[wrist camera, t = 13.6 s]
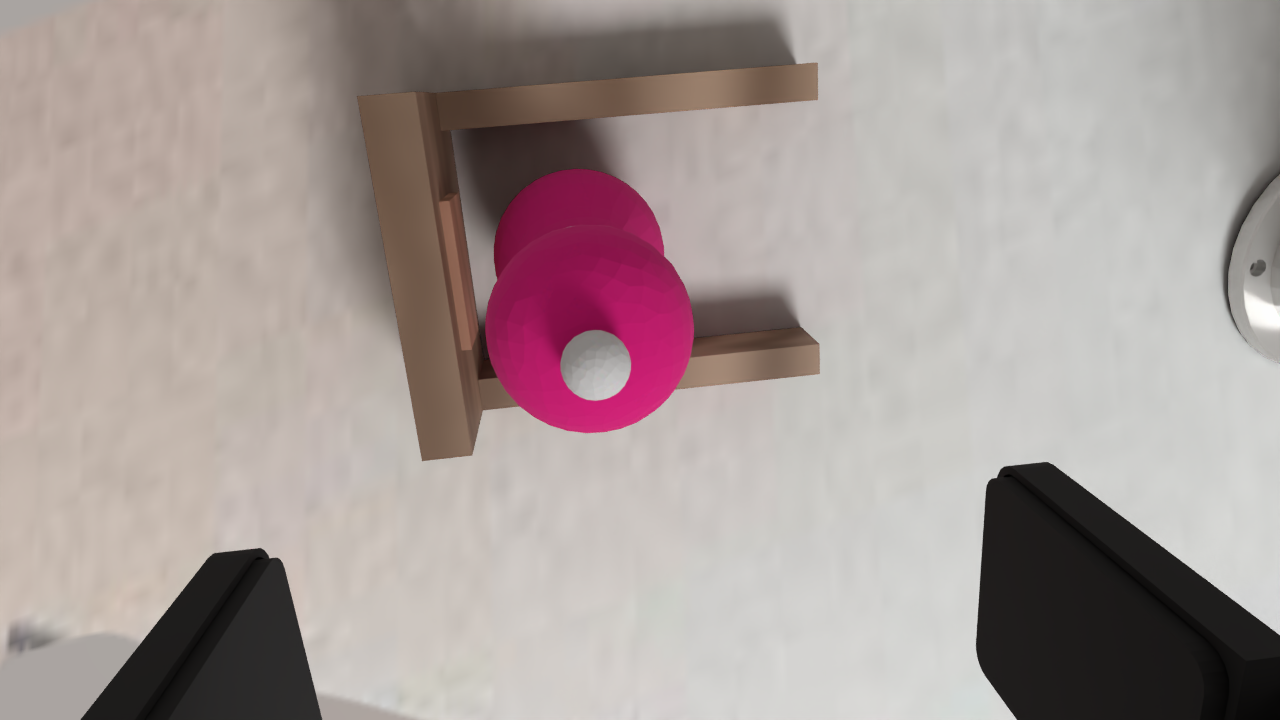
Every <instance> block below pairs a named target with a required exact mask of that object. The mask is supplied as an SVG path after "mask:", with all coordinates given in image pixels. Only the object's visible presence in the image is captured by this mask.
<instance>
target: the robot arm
mask: <svg viewBox="0 0 1280 720" xmlns="http://www.w3.org/2000/svg"><path fill="white" fill-rule="evenodd" d="M1228 296H1229V301H1230V307H1231V312H1232V315H1233V318H1234V320H1235V322H1236V325H1237V327H1238V329H1239V331H1240V333H1241V334H1242V335H1243V337H1244V338H1245V339H1246V341H1247V342H1248V343H1249V345H1250V346H1251V347H1252V348H1254V349H1255V350H1256V351H1257V352H1259V353H1260V354H1261V355H1262V356H1264V357H1265V358H1268V359H1270V360H1272V361H1274V362H1277V363H1279V364H1280V174H1279V175H1278V176H1277V177H1276V178H1275V179H1274V180H1273V181H1272V182H1271V183H1270V184H1269V186H1268V187H1267V188H1266V189H1265V191H1264V192H1263V193H1262V195H1261V196H1260V197H1259V198H1258V200H1257V201H1256V202H1255V204H1254V205H1253V207H1252V209H1251V211H1250V212H1249V214H1248V216H1247V218H1246V220H1245V221H1244V223H1243V225H1242V227H1241V230H1240V232H1239V235H1238V237H1237V240H1236V243H1235V245H1234V248H1233V252H1232V257H1231V262H1230V267H1229V274H1228ZM976 651H977V657H978V661H979V664H980V666H981V669H982V671H983V673H984V674H985V676H986V678H987V679H988V680H989V682H990V683H991V684H992V686H993V687H994V689H995V690H996V691H997V693H998V694H999V696H1000V697H1001V698H1002V700H1003V701H1004V702H1005V704H1006V705H1007V707H1008V708H1009V709H1010V711H1011V712H1012V713H1013V715H1014V716H1015V718H1016V719H1017V720H1280V635H1279V634H1277V633H1276V632H1275V631H1273V630H1272V629H1271V628H1269V627H1268V626H1267V625H1265V624H1264V623H1263V622H1261V621H1260V620H1259V619H1257V618H1256V617H1255V616H1253V615H1252V614H1251V613H1249V612H1248V611H1247V610H1245V609H1244V608H1243V607H1241V606H1240V605H1239V604H1237V603H1236V602H1235V601H1233V600H1232V599H1231V598H1229V597H1228V596H1227V595H1225V594H1224V593H1223V592H1221V591H1220V590H1219V589H1217V588H1216V587H1215V586H1214V585H1212V584H1211V583H1210V582H1208V581H1207V580H1206V579H1204V578H1203V577H1202V576H1200V575H1199V574H1198V573H1196V572H1195V571H1194V570H1192V569H1191V568H1190V567H1188V566H1187V565H1186V564H1184V563H1183V562H1182V561H1180V560H1179V559H1178V558H1176V557H1175V556H1174V555H1172V554H1171V553H1170V552H1168V551H1167V550H1166V549H1164V548H1163V547H1162V546H1160V545H1159V544H1158V543H1156V542H1155V541H1154V540H1152V539H1151V538H1150V537H1148V536H1147V535H1146V534H1144V533H1143V532H1142V531H1140V530H1139V529H1138V528H1136V527H1135V526H1134V525H1132V524H1131V523H1130V522H1128V521H1127V520H1126V519H1124V518H1123V517H1122V516H1120V515H1119V514H1118V513H1116V512H1115V511H1114V510H1112V509H1111V508H1110V507H1108V506H1107V505H1106V504H1105V503H1103V502H1102V501H1101V500H1099V499H1098V498H1097V497H1095V496H1094V495H1093V494H1091V493H1090V492H1089V491H1087V490H1086V489H1085V488H1083V487H1082V486H1081V485H1079V484H1078V483H1077V482H1075V481H1074V480H1073V479H1071V478H1070V477H1069V476H1067V475H1066V474H1065V473H1063V472H1062V471H1061V470H1059V469H1058V468H1057V467H1055V466H1054V465H1052V464H1050V463H1048V462H1042V463H1033V464H1024V465H1015V466H1006V467H1003V468H1002V469H1001V470H1000V472H999V474H998V476H997V478H994V479H991V480H990V481H989V482H988V484H987V488H986V499H985V515H984V530H983V546H982V561H981V576H980V592H979V607H978V623H977V638H976ZM81 720H322V717H321V713H320V709H319V705H318V701H317V697H316V693H315V689H314V685H313V681H312V677H311V673H310V669H309V665H308V661H307V657H306V653H305V649H304V645H303V641H302V637H301V633H300V629H299V625H298V621H297V617H296V612H295V608H294V604H293V600H292V596H291V592H290V588H289V584H288V580H287V576H286V572H285V569H284V566H283V563H282V562H281V560H280V559H278V558H269V556H268V554H267V553H266V552H265V550H263V549H261V548H258V549H248V550H239V551H230V552H221V553H214V554H212V555H211V556H210V557H209V558H208V559H207V560H206V562H205V563H204V564H203V565H202V567H201V568H200V569H199V571H198V572H197V573H196V574H195V576H194V577H193V578H192V579H191V581H190V582H189V583H188V584H187V586H186V587H185V588H184V589H183V591H182V592H181V593H180V595H179V596H178V597H177V598H176V600H175V601H174V602H173V603H172V605H171V606H170V607H169V608H168V610H167V611H166V612H165V614H164V615H163V616H162V617H161V619H160V620H159V621H158V622H157V624H156V625H155V626H154V627H153V629H152V630H151V631H150V633H149V634H148V635H147V636H146V638H145V639H144V640H143V641H142V643H141V644H140V645H139V646H138V648H137V649H136V650H135V652H134V653H133V654H132V655H131V657H130V658H129V659H128V660H127V662H126V663H125V664H124V666H123V667H122V668H121V669H120V671H119V672H118V673H117V674H116V676H115V677H114V678H113V679H112V681H111V682H110V683H109V684H108V686H107V687H106V688H105V689H104V691H103V692H102V693H101V695H100V696H99V697H98V698H97V700H96V701H95V702H94V704H93V705H92V706H91V707H90V709H89V710H88V711H87V712H86V714H85V715H84V716H83V717H82V719H81Z"/></svg>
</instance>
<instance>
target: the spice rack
mask: <svg viewBox="0 0 1280 720" xmlns="http://www.w3.org/2000/svg"><path fill="white" fill-rule="evenodd" d="M357 99H358V104H359V110H360V115H361V121H362V127H363V132H364V138H365V143H366V149H367V155H368V160H369V166H370V171H371V177H372V183H373V188H374V194H375V199H376V205H377V211H378V216H379V222H380V227H381V233H382V239H383V244H384V250H385V255H386V261H387V267H388V272H389V278H390V283H391V289H392V295H393V300H394V306H395V311H396V317H397V323H398V328H399V334H400V340H401V345H402V351H403V356H404V362H405V368H406V373H407V379H408V384H409V390H410V396H411V401H412V407H413V412H414V418H415V424H416V429H417V435H418V440H419V446H420V452H421V457H422V461H426V460H435V459H444V458H453V457H462V456H471V455H472V454H473V450H474V445H475V441H476V437H477V433H478V428H479V424H480V420H481V416H482V411H483V410H490V409H499V408H508V407H517V406H519V405H518V404H517V403H516V402H515V401H514V400H513V399H512V398H511V396H510V395H509V394H508V393H507V392H506V390H505V389H504V387H503V386H502V384H501V382H500V381H499V379H498V377H497V375H496V373H495V370H494V368H493V366H492V364H491V361H490V359H487V360H484V358H483V351H482V344H481V337H480V330H479V323H478V317H477V310H476V303H475V296H474V289H473V282H472V275H471V268H470V262H469V255H468V248H467V241H466V234H465V227H464V220H463V214H462V207H461V200H460V193H459V186H458V179H457V172H456V165H455V159H454V152H453V145H452V138H451V131H450V130H459V129H471V128H483V127H495V126H507V125H519V124H531V123H543V122H555V121H567V120H579V119H592V118H604V117H616V116H628V115H640V114H652V113H664V112H676V111H688V110H700V109H712V108H725V107H737V106H749V105H761V104H773V103H785V102H797V101H809V100H818V63H806V64H794V65H781V66H769V67H756V68H743V69H731V70H718V71H706V72H693V73H680V74H668V75H655V76H643V77H630V78H617V79H605V80H592V81H580V82H567V83H554V84H542V85H529V86H517V87H504V88H491V89H479V90H466V91H454V92H441V93H429V92H405V93H392V94H379V95H367V96H357ZM815 374H820V356H819V343H818V342H817V341H816V340H814V339H813V338H812V337H811V336H810V335H809V334H808V333H807V332H806V331H805V330H804V329H803V328H801V327H797V328H787V329H778V330H768V331H758V332H749V333H739V334H729V335H720V336H710V337H700V338H694V339H693V345H692V351H691V356H690V359H689V363H688V365H687V368H686V371H685V373H684V375H683V377H682V379H681V380H680V382H679V383H678V385H677V387H676V388H675V389H685V388H694V387H703V386H713V385H722V384H731V383H741V382H750V381H759V380H768V379H778V378H787V377H796V376H806V375H815Z"/></svg>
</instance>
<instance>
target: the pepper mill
mask: <svg viewBox="0 0 1280 720" xmlns="http://www.w3.org/2000/svg"><path fill="white" fill-rule="evenodd" d="M494 263H495V271H496V276H497V282H496V284H495V285H494V288H493V290H492V293H491V296H490V299H489V302H488V307H487V313H486V321H485V333H486V341H487V348H488V353H489V357H490V361H491V364H492V366H493V368H494V370H495V373H496V375H497V377H498V379H499V381H500V382H501V384H502V386H503V387H504V389H505V390H506V392H507V393H508V394H509V395H510V396H511V398H512V399H513V400H514V401H515V402H516V403H517V404H518V405H519V406H520V407H521V408H523V409H524V410H525V411H527V412H528V413H529V414H531V415H532V416H534V417H535V418H537V419H539V420H541V421H543V422H545V423H547V424H549V425H551V426H554V427H557V428H561V429H564V430H567V431H574V432H583V433H596V432H607V431H612V430H616V429H621V428H624V427H626V426H629V425H631V424H634V423H636V422H638V421H640V420H641V419H643V418H645V417H646V416H648V415H649V414H650V413H652V412H653V411H655V410H656V409H657V408H658V407H660V406H661V405H662V404H663V403H664V402H665V401H666V400H667V399H668V398H669V396H670V395H671V394H672V393H673V391H674V390H675V388H676V387H677V385H678V383H679V382H680V380H681V379H682V377H683V375H684V373H685V371H686V368H687V365H688V363H689V359H690V356H691V351H692V345H693V339H694V323H693V314H692V309H691V304H690V299H689V297H688V294H687V291H686V289H685V286H684V284H683V282H682V280H681V279H680V277H679V275H678V274H677V272H676V270H675V269H674V267H673V265H672V264H671V263H670V262H669V261H668V260H667V259H666V258H665V257H664V245H663V241H662V236H661V231H660V228H659V225H658V223H657V221H656V218H655V216H654V214H653V212H652V210H651V209H650V207H649V206H648V204H647V203H646V201H645V200H644V199H643V198H642V197H641V196H640V195H639V194H638V193H637V192H636V191H635V190H634V189H632V188H631V187H630V186H629V185H628V184H626V183H624V182H623V181H621V180H619V179H617V178H616V177H613V176H611V175H608V174H606V173H603V172H599V171H594V170H589V169H570V170H561V171H558V172H554V173H551V174H548V175H545V176H543V177H541V178H539V179H537V180H535V181H534V182H532V183H531V184H529V185H528V186H527V187H525V188H524V189H523V190H521V191H520V192H519V194H518V195H517V196H516V197H515V198H514V199H513V200H512V201H511V202H510V204H509V205H508V207H507V209H506V211H505V212H504V214H503V216H502V217H501V220H500V223H499V226H498V229H497V232H496V236H495V243H494Z"/></svg>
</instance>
